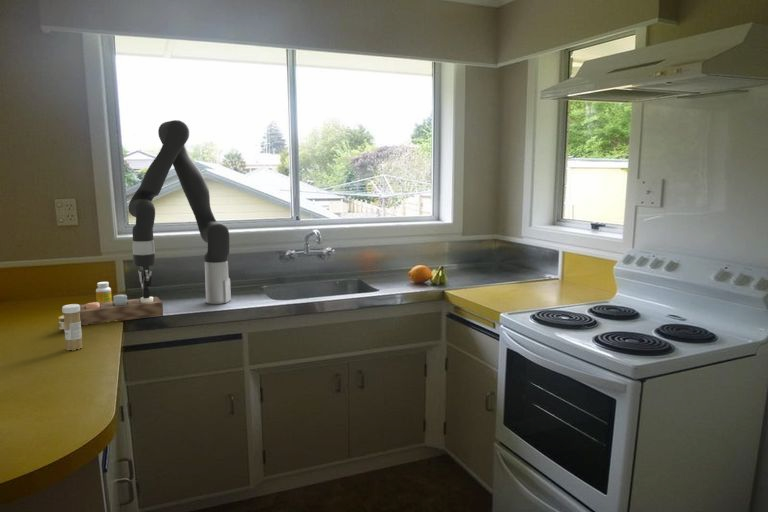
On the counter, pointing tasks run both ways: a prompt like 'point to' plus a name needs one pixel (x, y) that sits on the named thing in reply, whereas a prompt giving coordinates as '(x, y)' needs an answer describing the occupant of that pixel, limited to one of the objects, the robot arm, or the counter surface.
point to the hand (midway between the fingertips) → (146, 297)
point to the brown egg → (92, 305)
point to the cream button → (146, 299)
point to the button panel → (121, 311)
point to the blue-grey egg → (120, 300)
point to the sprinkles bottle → (72, 326)
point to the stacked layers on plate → (61, 322)
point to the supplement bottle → (103, 292)
